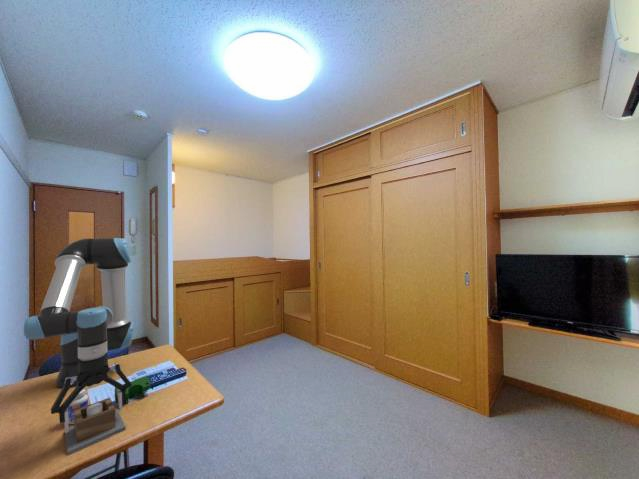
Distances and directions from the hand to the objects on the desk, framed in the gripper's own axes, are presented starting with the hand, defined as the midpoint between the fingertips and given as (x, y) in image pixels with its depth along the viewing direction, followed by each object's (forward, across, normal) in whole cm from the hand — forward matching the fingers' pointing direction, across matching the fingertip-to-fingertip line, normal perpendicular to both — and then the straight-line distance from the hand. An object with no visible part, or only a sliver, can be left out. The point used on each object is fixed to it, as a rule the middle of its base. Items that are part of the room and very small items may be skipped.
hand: (94, 419), depth 88 cm
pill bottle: (+4, -3, +12) cm, 13 cm away
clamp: (+4, +13, +12) cm, 19 cm away
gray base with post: (+4, 0, 0) cm, 4 cm away
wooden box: (+3, 0, 0) cm, 3 cm away
